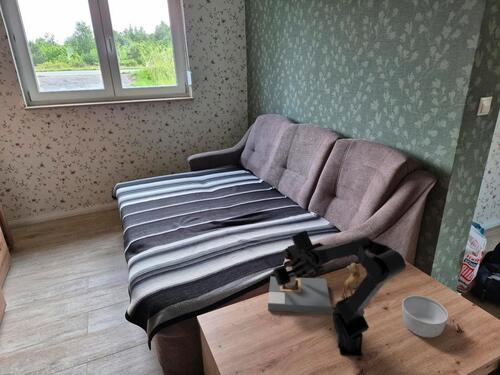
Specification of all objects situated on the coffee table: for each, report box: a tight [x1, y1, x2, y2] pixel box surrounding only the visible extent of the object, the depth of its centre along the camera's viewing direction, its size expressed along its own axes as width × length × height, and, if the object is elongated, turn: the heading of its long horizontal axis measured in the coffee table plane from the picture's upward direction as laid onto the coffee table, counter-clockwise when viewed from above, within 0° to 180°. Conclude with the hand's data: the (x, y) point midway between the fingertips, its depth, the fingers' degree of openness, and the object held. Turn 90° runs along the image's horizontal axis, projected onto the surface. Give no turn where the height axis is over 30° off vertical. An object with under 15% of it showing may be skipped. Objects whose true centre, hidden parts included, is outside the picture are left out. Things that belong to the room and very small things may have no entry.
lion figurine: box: [341, 262, 361, 299], centre depth 117 cm, size 15×5×9 cm, turn 155°
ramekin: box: [401, 294, 449, 339], centre depth 100 cm, size 13×13×7 cm
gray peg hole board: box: [267, 276, 332, 315], centre depth 116 cm, size 22×16×3 cm
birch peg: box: [284, 266, 297, 290], centre depth 118 cm, size 4×4×10 cm
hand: (288, 274), depth 118 cm, fingers open, 9 cm apart
